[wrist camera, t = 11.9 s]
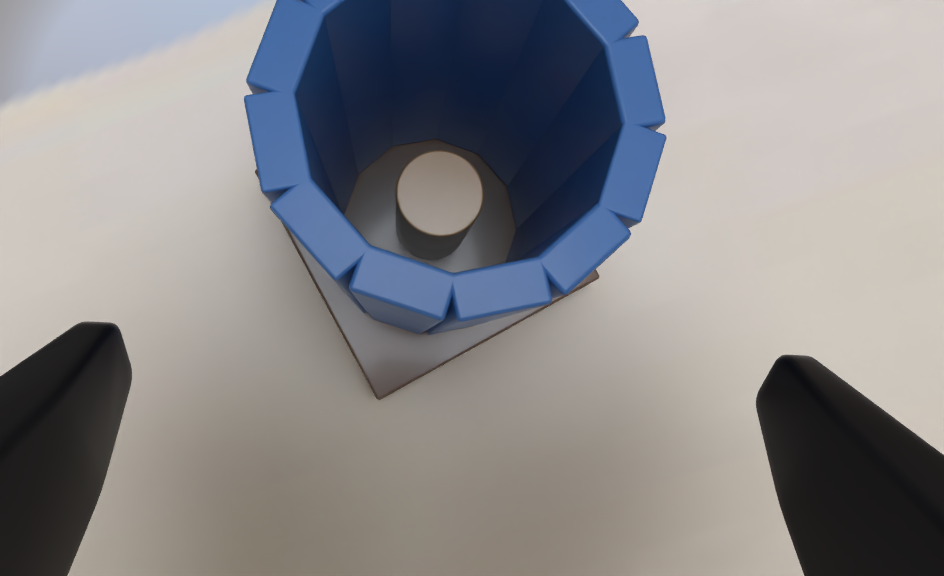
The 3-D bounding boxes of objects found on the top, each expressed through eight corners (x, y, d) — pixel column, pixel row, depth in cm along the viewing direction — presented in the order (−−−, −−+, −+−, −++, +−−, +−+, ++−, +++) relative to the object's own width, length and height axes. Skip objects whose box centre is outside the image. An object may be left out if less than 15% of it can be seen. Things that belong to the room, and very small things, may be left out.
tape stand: (590, 281, 22) (652, 259, 17) (378, 397, 21) (372, 415, 16) (476, 74, 23) (502, -13, 17) (261, 179, 21) (215, 122, 16)
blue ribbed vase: (558, 308, 21) (703, 272, 11) (343, 352, 20) (291, 357, 10) (513, 101, 21) (614, -111, 11) (301, 136, 20) (212, -62, 11)
